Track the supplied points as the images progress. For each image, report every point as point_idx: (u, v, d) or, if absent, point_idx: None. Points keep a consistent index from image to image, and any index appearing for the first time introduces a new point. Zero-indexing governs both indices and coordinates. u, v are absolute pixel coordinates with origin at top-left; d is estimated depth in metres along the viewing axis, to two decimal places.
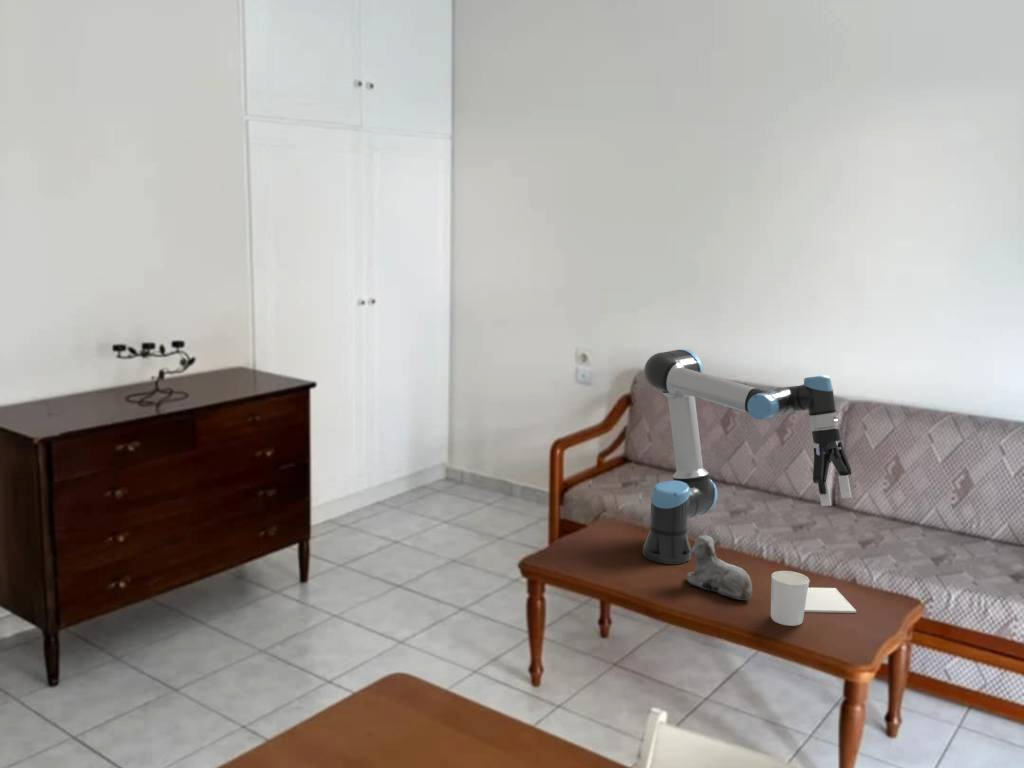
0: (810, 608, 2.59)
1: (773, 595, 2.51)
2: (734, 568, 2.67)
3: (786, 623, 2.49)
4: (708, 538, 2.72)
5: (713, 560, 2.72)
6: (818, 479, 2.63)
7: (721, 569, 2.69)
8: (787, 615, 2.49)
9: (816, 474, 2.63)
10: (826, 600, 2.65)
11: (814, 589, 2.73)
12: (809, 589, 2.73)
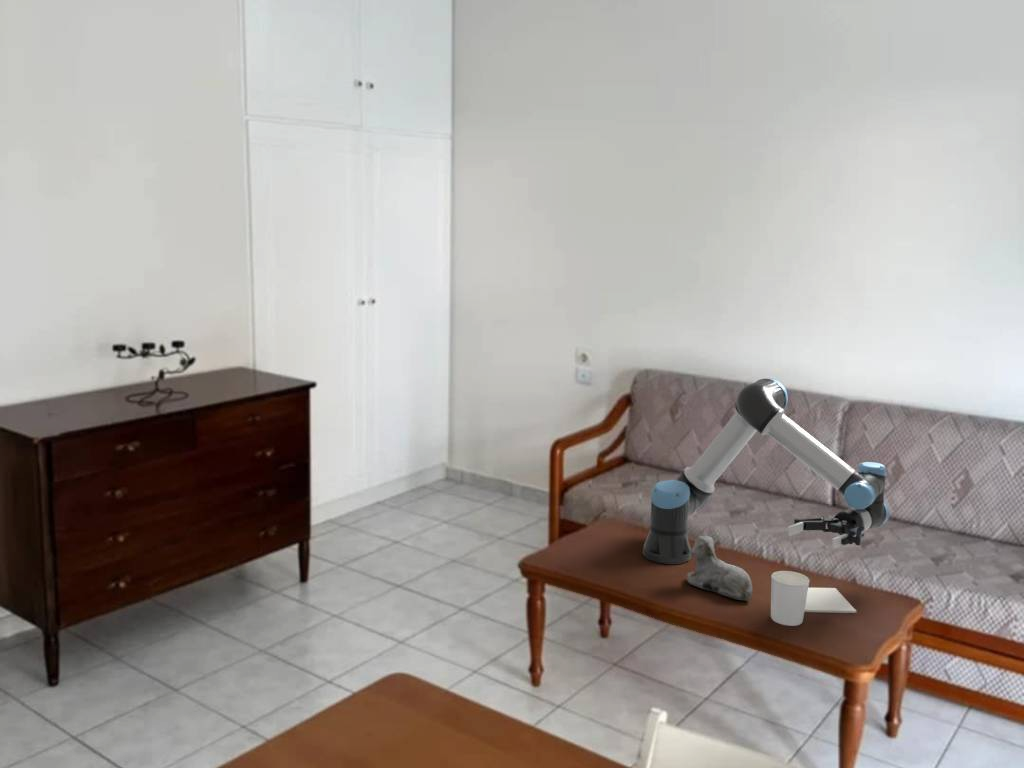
0: (810, 608, 2.59)
1: (773, 595, 2.51)
2: (734, 568, 2.67)
3: (786, 623, 2.49)
4: (708, 538, 2.72)
5: (713, 560, 2.72)
6: (859, 542, 2.54)
7: (721, 569, 2.69)
8: (787, 615, 2.49)
9: (860, 538, 2.55)
10: (826, 600, 2.65)
11: (814, 589, 2.73)
12: (809, 589, 2.73)
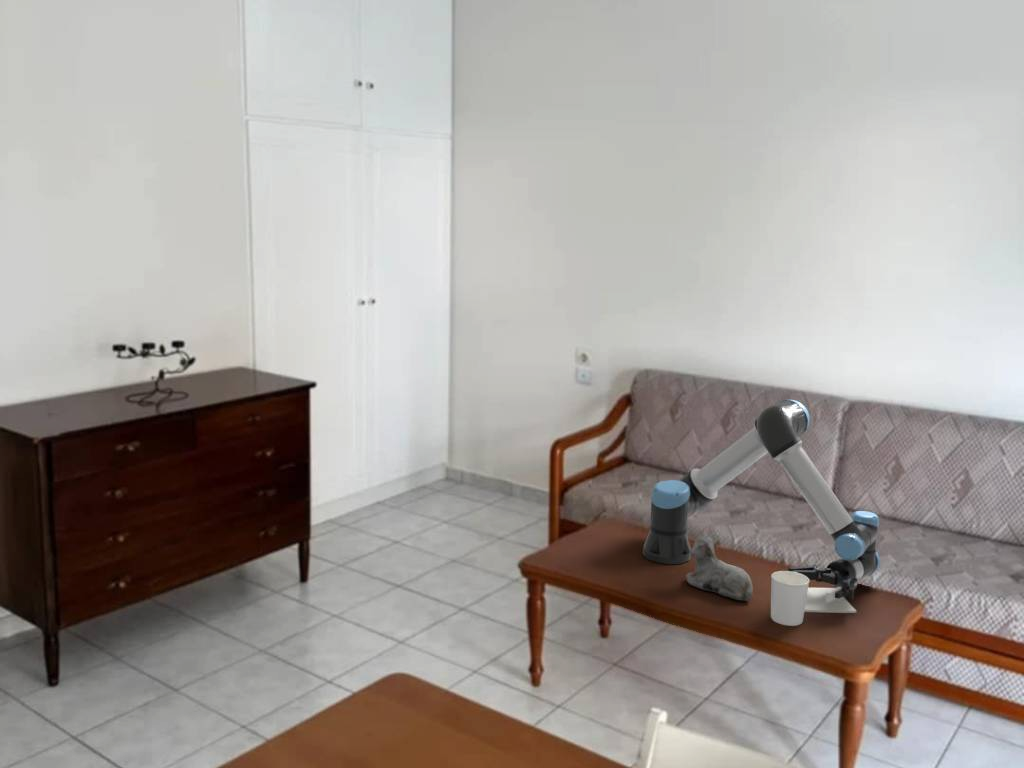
0: (810, 608, 2.59)
1: (773, 595, 2.51)
2: (734, 568, 2.67)
3: (786, 623, 2.49)
4: (708, 539, 2.72)
5: (713, 560, 2.71)
6: None
7: (721, 569, 2.68)
8: (787, 615, 2.49)
9: None
10: None
11: (814, 589, 2.73)
12: (809, 589, 2.73)
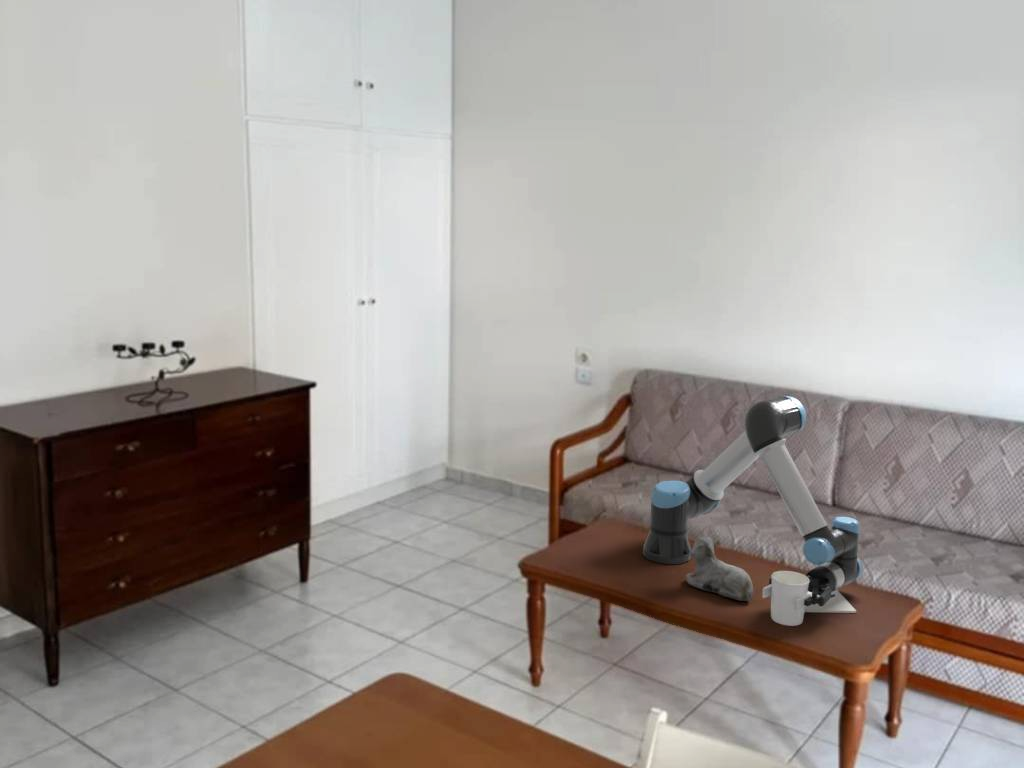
0: (810, 608, 2.59)
1: (773, 595, 2.51)
2: (734, 569, 2.67)
3: (786, 623, 2.49)
4: (708, 539, 2.71)
5: (713, 561, 2.71)
6: (823, 603, 2.48)
7: (721, 570, 2.68)
8: (787, 615, 2.49)
9: (825, 599, 2.49)
10: None
11: None
12: None
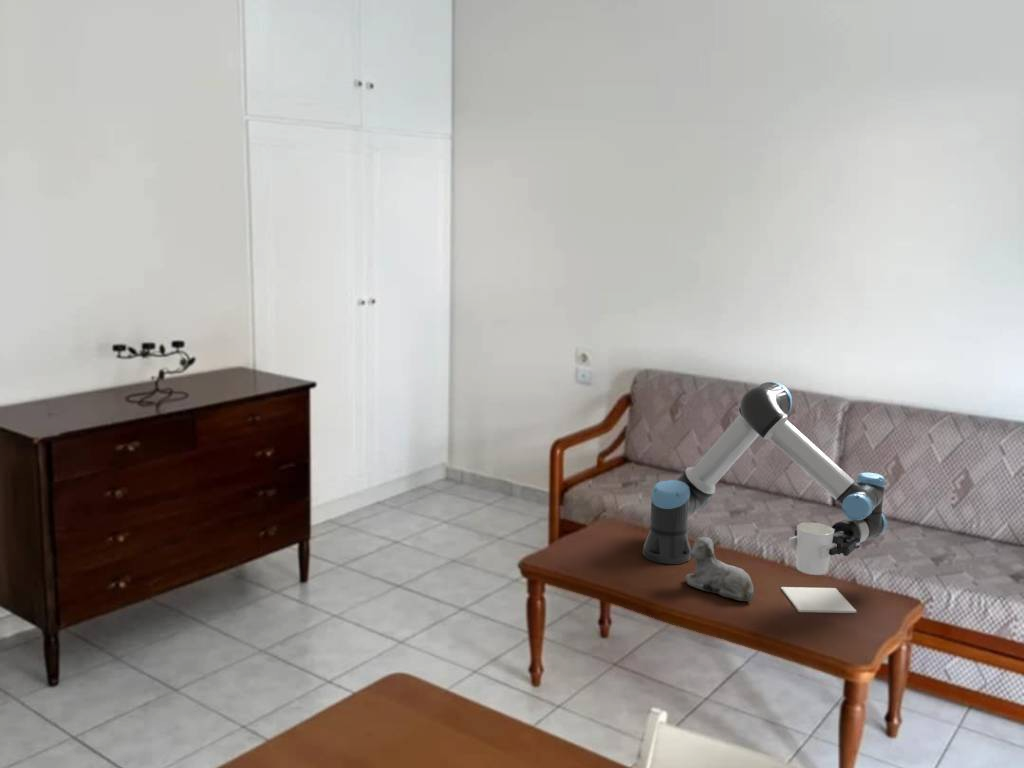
0: (810, 608, 2.59)
1: (798, 545, 2.57)
2: (735, 569, 2.66)
3: (811, 572, 2.55)
4: (707, 539, 2.71)
5: (713, 561, 2.71)
6: (847, 553, 2.54)
7: (722, 570, 2.68)
8: (812, 564, 2.55)
9: (849, 549, 2.55)
10: (826, 600, 2.65)
11: (814, 589, 2.73)
12: (809, 589, 2.73)
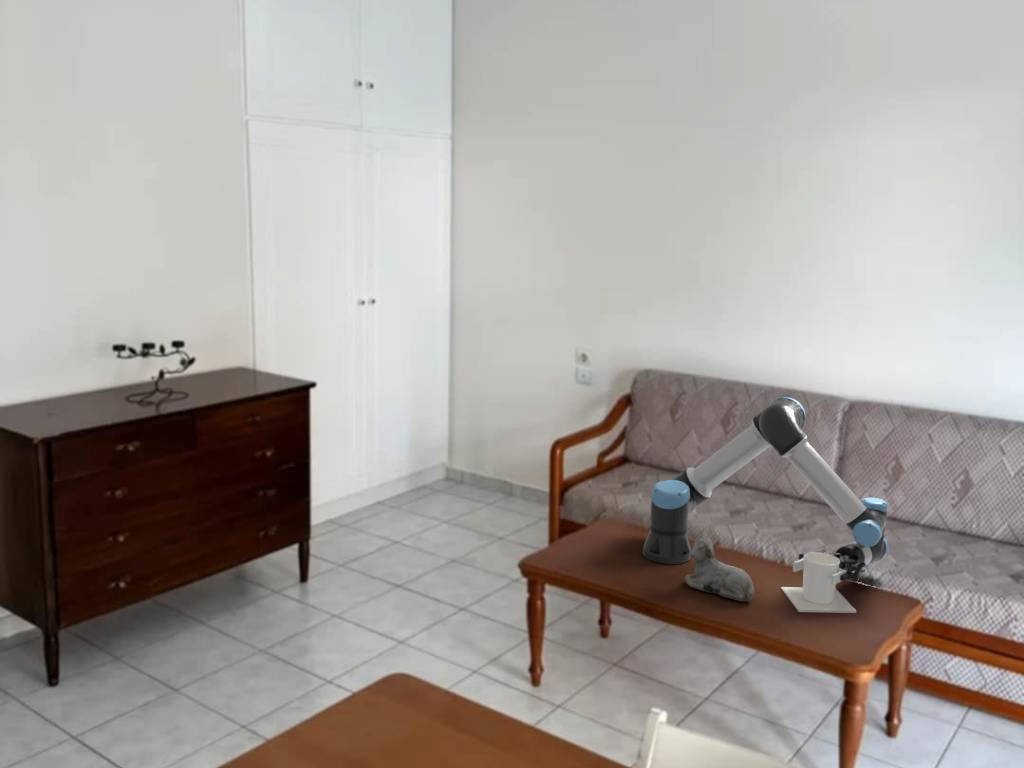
0: (810, 608, 2.59)
1: (805, 575, 2.64)
2: (735, 569, 2.66)
3: (817, 601, 2.62)
4: (707, 540, 2.71)
5: (713, 562, 2.70)
6: (858, 578, 2.61)
7: (722, 570, 2.68)
8: (819, 594, 2.62)
9: (859, 575, 2.62)
10: None
11: None
12: None
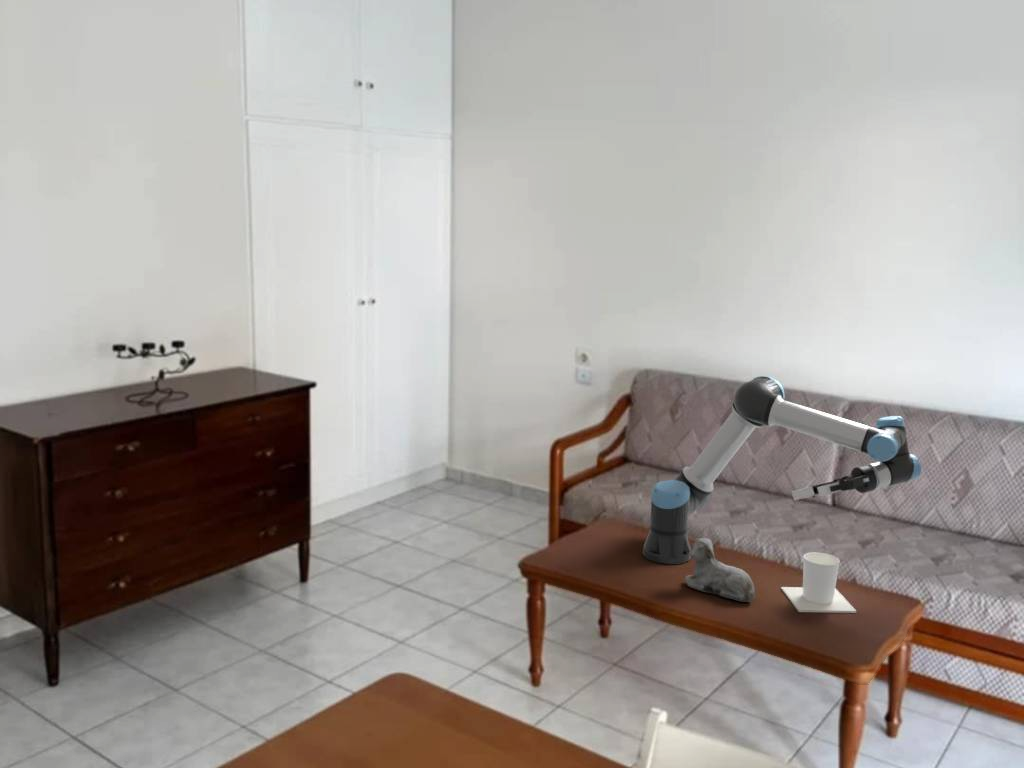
0: (810, 608, 2.59)
1: (805, 575, 2.64)
2: (735, 570, 2.66)
3: (817, 601, 2.62)
4: (707, 540, 2.70)
5: (713, 562, 2.70)
6: (850, 486, 2.55)
7: (722, 571, 2.67)
8: (818, 594, 2.62)
9: (853, 483, 2.56)
10: None
11: None
12: None
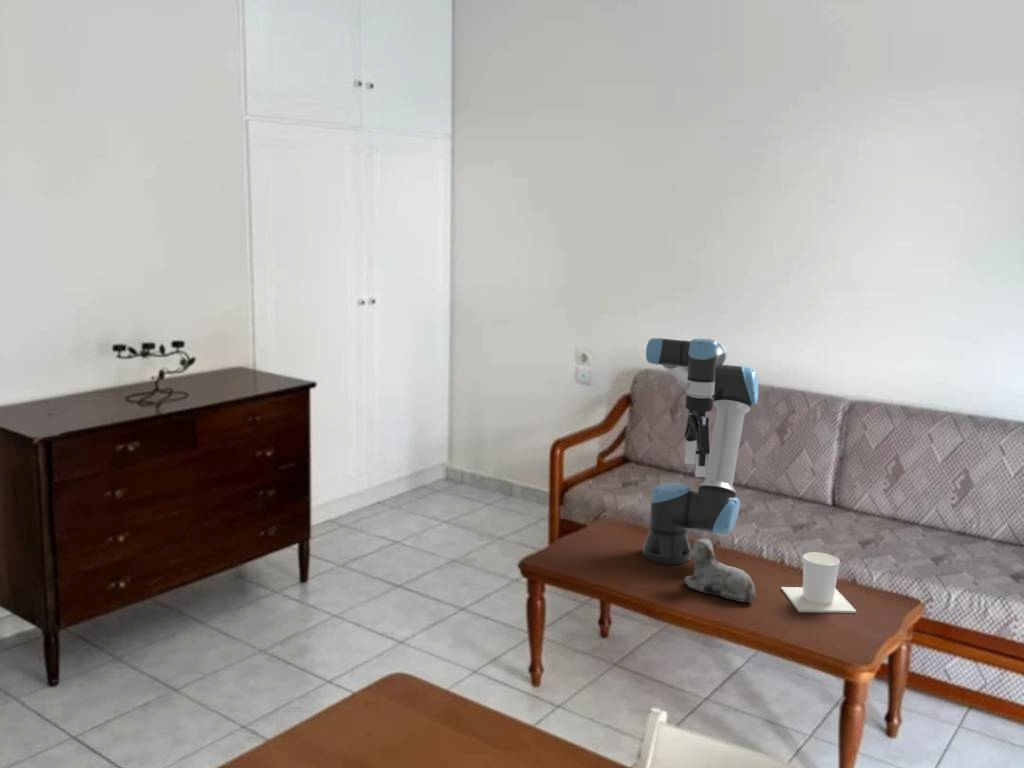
0: (810, 608, 2.59)
1: (805, 575, 2.64)
2: (736, 570, 2.65)
3: (817, 601, 2.62)
4: (707, 541, 2.70)
5: (713, 563, 2.69)
6: None
7: (722, 571, 2.67)
8: (818, 594, 2.62)
9: None
10: None
11: None
12: None
